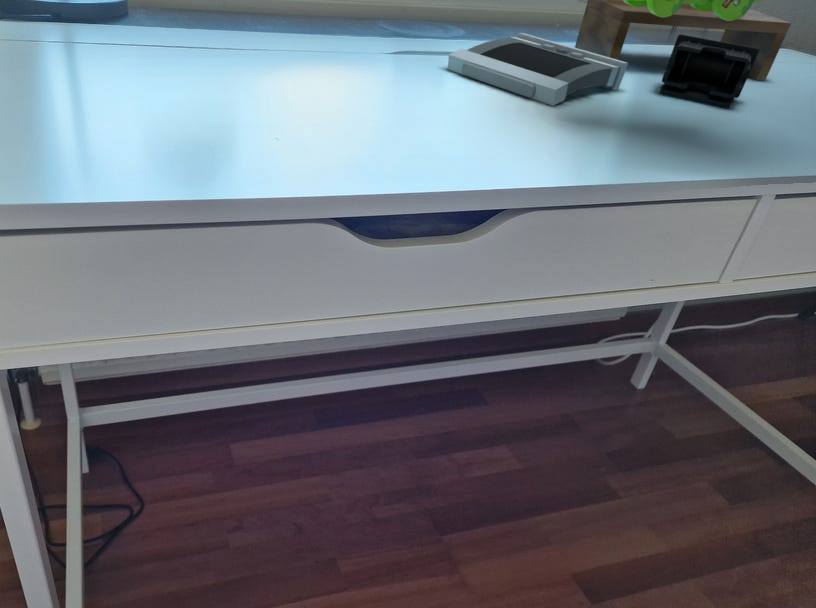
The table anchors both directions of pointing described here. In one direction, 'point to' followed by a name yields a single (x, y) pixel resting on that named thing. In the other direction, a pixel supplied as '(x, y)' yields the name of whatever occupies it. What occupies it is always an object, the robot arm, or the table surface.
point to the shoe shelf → (613, 17)
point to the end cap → (707, 70)
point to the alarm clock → (537, 67)
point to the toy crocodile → (696, 7)
